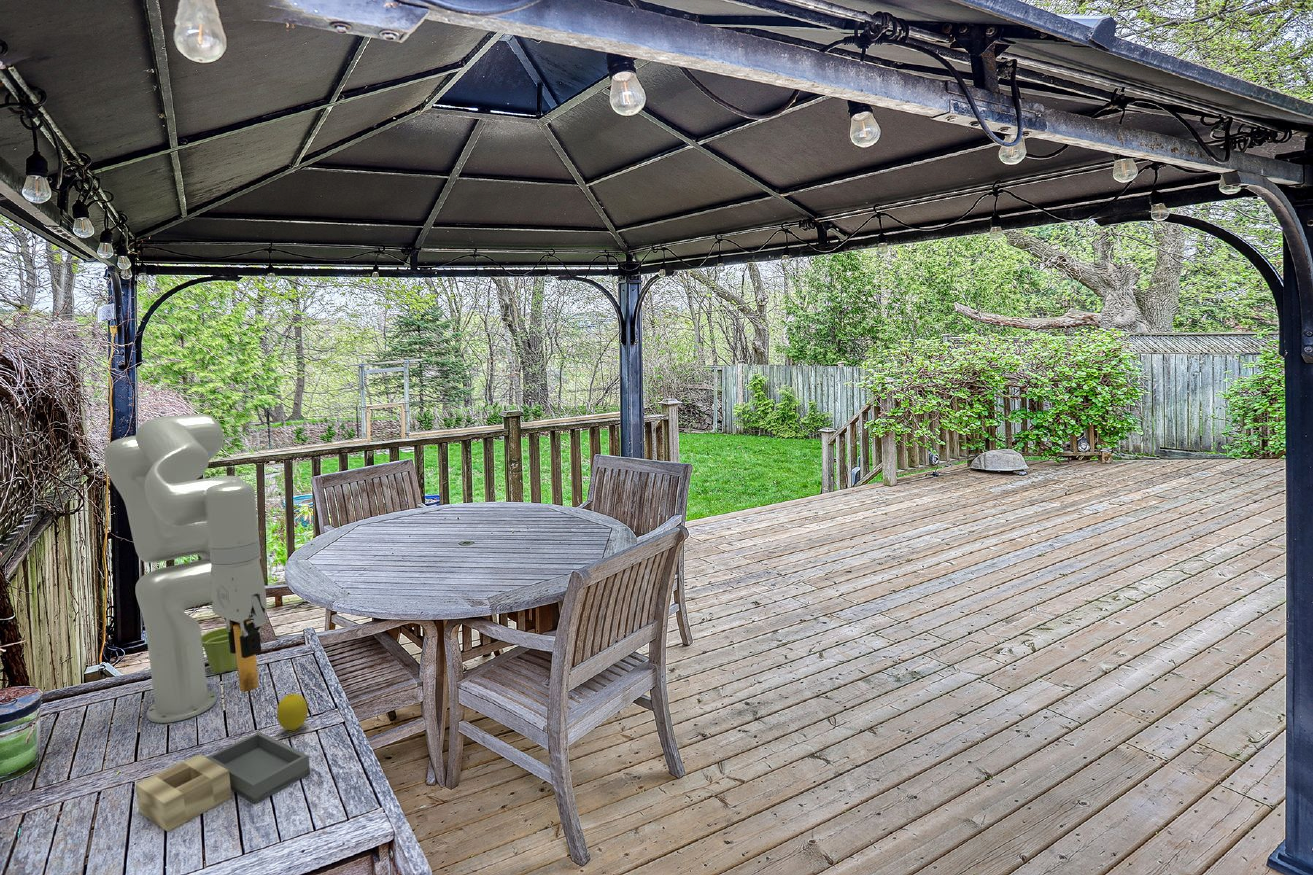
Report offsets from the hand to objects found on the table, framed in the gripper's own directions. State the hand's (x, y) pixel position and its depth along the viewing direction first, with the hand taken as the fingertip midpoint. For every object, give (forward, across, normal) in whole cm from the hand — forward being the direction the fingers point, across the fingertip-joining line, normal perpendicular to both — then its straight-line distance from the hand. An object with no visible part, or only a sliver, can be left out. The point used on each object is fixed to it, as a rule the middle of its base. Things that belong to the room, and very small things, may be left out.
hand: (245, 651), depth 124 cm
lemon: (+24, -9, +12) cm, 28 cm away
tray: (+24, 0, 0) cm, 24 cm away
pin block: (+24, -3, -11) cm, 26 cm away
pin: (+7, 0, 0) cm, 7 cm away
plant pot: (+24, -51, +20) cm, 59 cm away
